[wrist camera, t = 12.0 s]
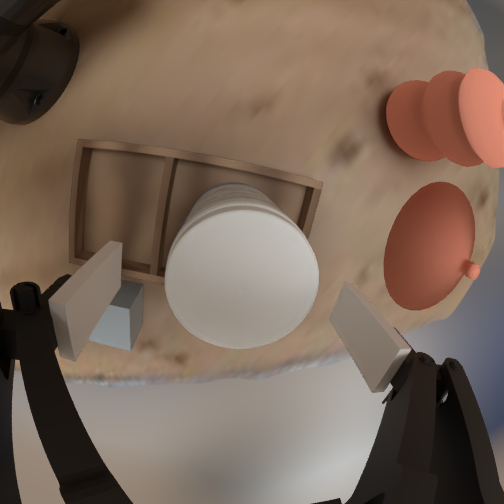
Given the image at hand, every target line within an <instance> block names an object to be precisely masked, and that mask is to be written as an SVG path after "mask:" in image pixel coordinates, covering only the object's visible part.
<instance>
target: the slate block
mask: <svg viewBox="0 0 504 504" xmlns="http://www.w3.org/2000/svg"><path fill="white" fill-rule="evenodd" d="M142 323H143V285H142V284H137V283H132V282H127V281H123V280H121V287H120V289H119V290H118V292H117V293H116V295H115V296H114V298H113V300H112V301H111V303H110V304H109V306H108V307H107V309H106V310H105V312H104V314H103V315H102V317H101V319H100V320H99V322H98V323H97V325H96V327H95V328H94V330H93V332H92V333H91V335H90V337H89V339H88V340H90V341H93V342H96V343H100V344H104V345H107V346H111V347H115V348H119V349H123V350H127V351H131V350H132V347H133V345H134V343H135V340H136V338H137V335H138V333H139V331H140V328H141V326H142Z"/></svg>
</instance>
